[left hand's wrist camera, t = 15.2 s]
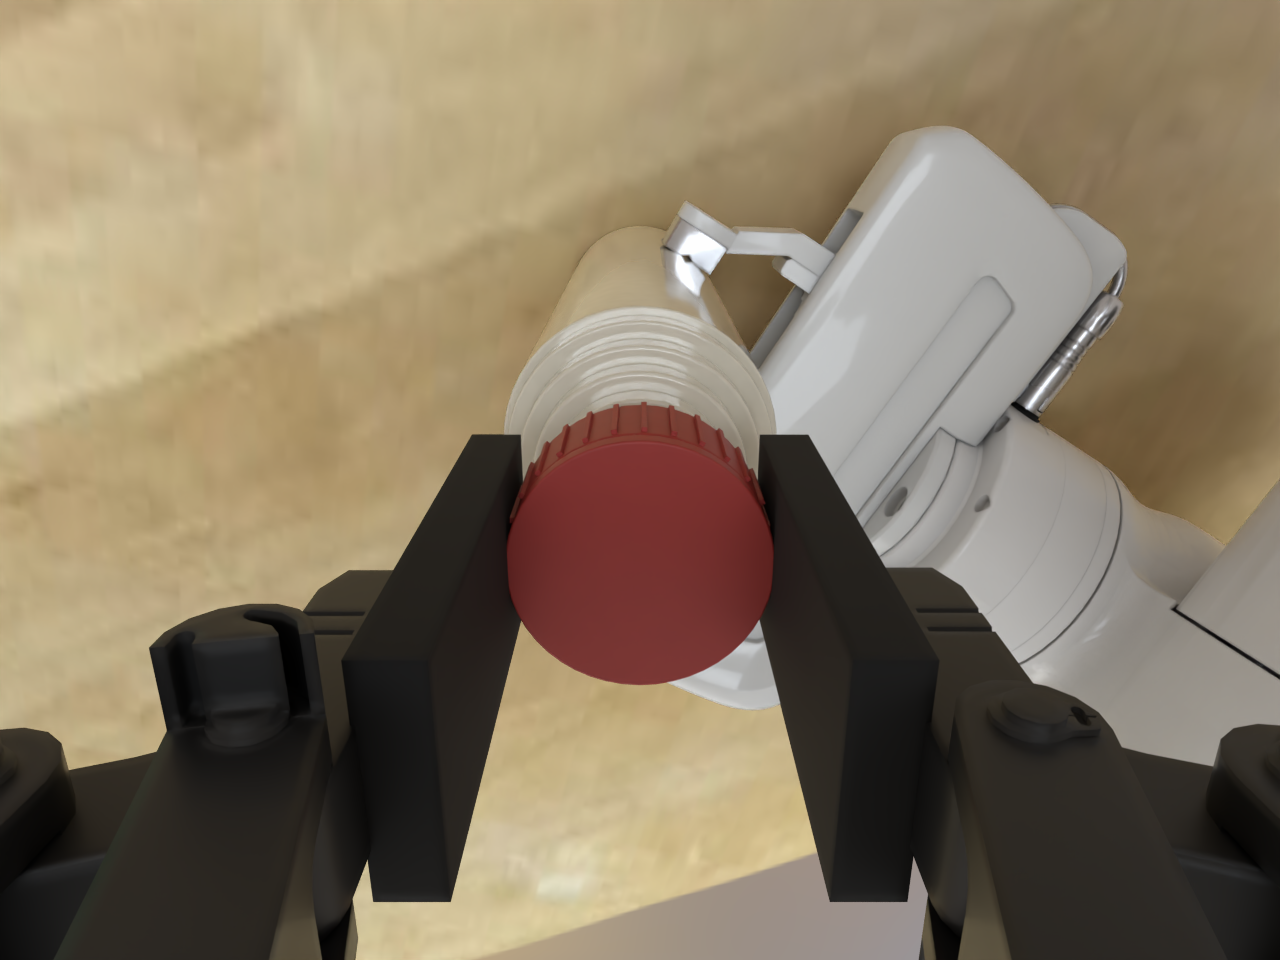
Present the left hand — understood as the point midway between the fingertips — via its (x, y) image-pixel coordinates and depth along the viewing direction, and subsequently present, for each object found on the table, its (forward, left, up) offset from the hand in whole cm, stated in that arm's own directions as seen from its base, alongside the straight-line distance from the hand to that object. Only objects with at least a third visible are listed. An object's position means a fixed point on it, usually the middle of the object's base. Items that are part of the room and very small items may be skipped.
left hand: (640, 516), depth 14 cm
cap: (0, 0, +2) cm, 2 cm away
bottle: (0, 0, -22) cm, 22 cm away
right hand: (+1, +1, -16) cm, 16 cm away
